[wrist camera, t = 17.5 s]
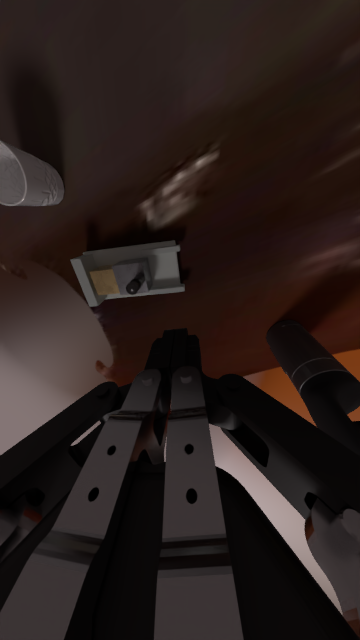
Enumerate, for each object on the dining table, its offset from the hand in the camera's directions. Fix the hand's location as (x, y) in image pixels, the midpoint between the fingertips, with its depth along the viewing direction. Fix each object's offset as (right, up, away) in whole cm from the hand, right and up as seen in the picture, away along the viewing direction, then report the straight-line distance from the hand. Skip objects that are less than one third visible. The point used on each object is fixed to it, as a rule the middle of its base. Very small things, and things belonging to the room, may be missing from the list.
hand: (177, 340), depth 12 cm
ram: (-9, +12, +28) cm, 31 cm away
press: (-10, +13, +29) cm, 33 cm away
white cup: (-25, +27, +22) cm, 43 cm away
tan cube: (-15, +11, +28) cm, 34 cm away
